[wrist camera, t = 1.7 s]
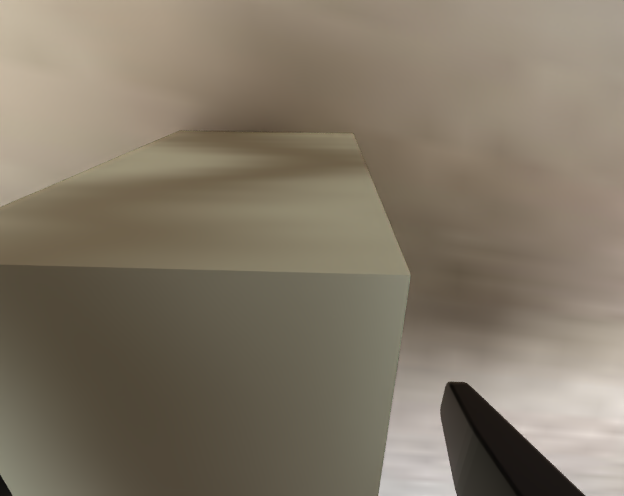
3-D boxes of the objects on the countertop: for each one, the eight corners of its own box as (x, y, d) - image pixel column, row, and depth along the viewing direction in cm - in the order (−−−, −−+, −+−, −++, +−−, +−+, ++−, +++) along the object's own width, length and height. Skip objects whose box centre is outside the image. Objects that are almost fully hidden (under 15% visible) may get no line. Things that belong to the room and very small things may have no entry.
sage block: (352, 133, 10) (410, 275, 3) (338, 387, 15) (349, 684, 8) (180, 130, 11) (-127, 261, 3) (216, 382, 15) (116, 671, 8)
